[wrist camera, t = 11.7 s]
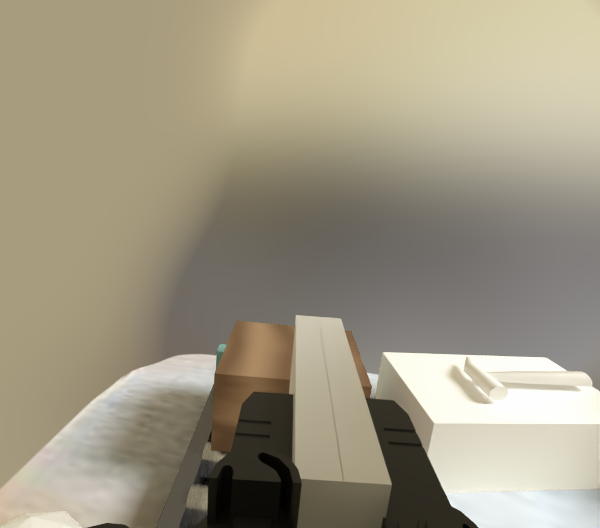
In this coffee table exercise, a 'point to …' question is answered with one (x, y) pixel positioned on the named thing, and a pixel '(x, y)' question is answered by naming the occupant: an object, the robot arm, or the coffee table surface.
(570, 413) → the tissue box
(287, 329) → the brown wooden block
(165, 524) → the roller track
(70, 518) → the geometric ball
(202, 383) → the coffee table surface
